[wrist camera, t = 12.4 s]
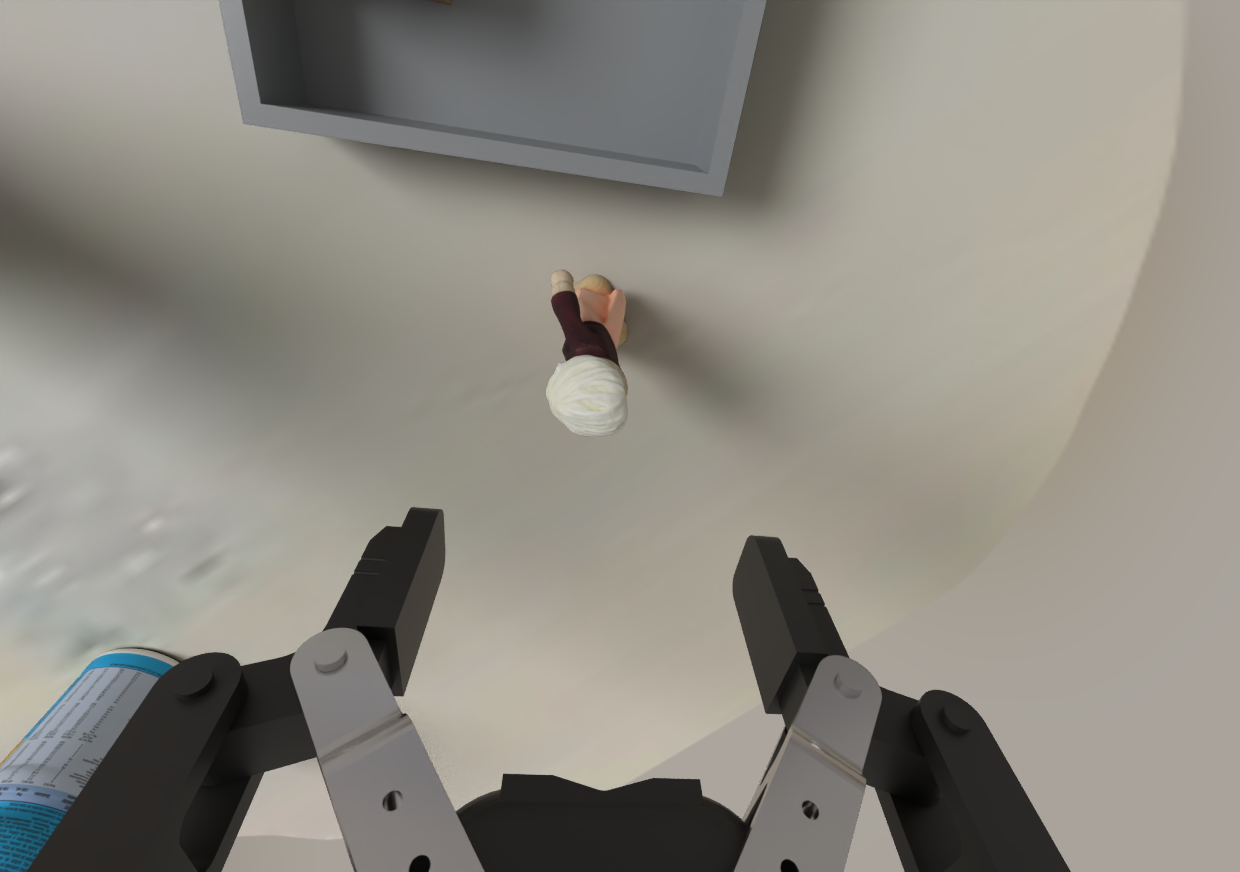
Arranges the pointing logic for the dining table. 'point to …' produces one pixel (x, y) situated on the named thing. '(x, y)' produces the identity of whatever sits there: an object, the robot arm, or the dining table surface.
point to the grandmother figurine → (589, 356)
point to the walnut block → (443, 1)
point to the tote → (508, 80)
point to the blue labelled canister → (69, 749)
